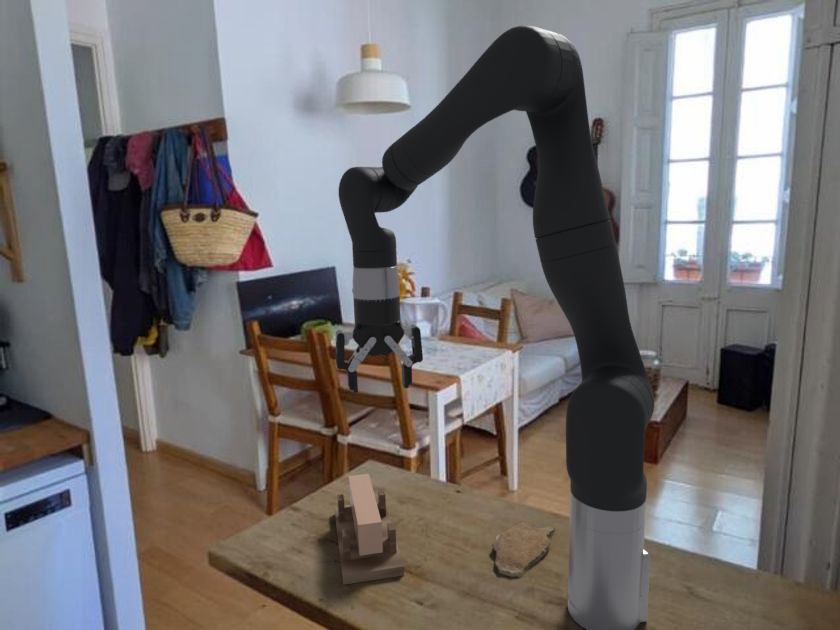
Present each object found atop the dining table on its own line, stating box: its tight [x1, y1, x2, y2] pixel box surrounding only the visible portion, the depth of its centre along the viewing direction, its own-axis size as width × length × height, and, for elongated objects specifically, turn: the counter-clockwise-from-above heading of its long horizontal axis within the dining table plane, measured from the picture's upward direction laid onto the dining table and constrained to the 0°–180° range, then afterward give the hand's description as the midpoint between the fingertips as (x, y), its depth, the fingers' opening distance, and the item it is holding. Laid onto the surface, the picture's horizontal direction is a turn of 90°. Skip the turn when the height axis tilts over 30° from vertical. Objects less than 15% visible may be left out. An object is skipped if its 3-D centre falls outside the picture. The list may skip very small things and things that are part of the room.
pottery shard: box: [491, 519, 556, 578], centre depth 92 cm, size 8×3×15 cm
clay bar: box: [348, 473, 383, 556], centre depth 94 cm, size 4×16×5 cm, turn 12°
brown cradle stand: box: [334, 488, 405, 586], centre depth 95 cm, size 20×9×6 cm, turn 12°
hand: (380, 389), depth 98 cm, fingers open, 8 cm apart
